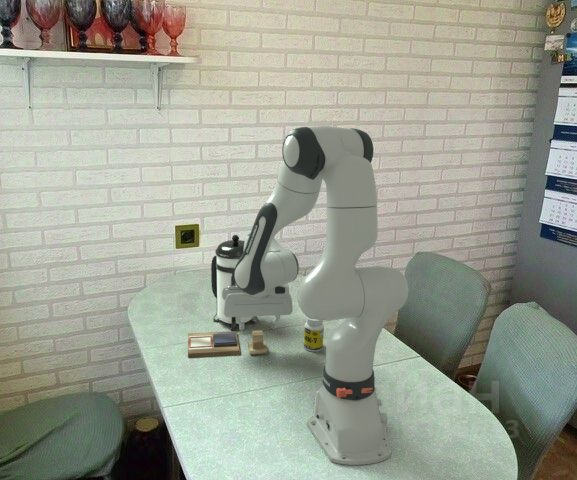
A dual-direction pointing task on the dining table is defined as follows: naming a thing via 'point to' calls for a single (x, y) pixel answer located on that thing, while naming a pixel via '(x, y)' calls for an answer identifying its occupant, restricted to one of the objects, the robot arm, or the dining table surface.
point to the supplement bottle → (313, 335)
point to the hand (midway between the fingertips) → (257, 328)
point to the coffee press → (226, 275)
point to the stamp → (257, 344)
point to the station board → (213, 344)
